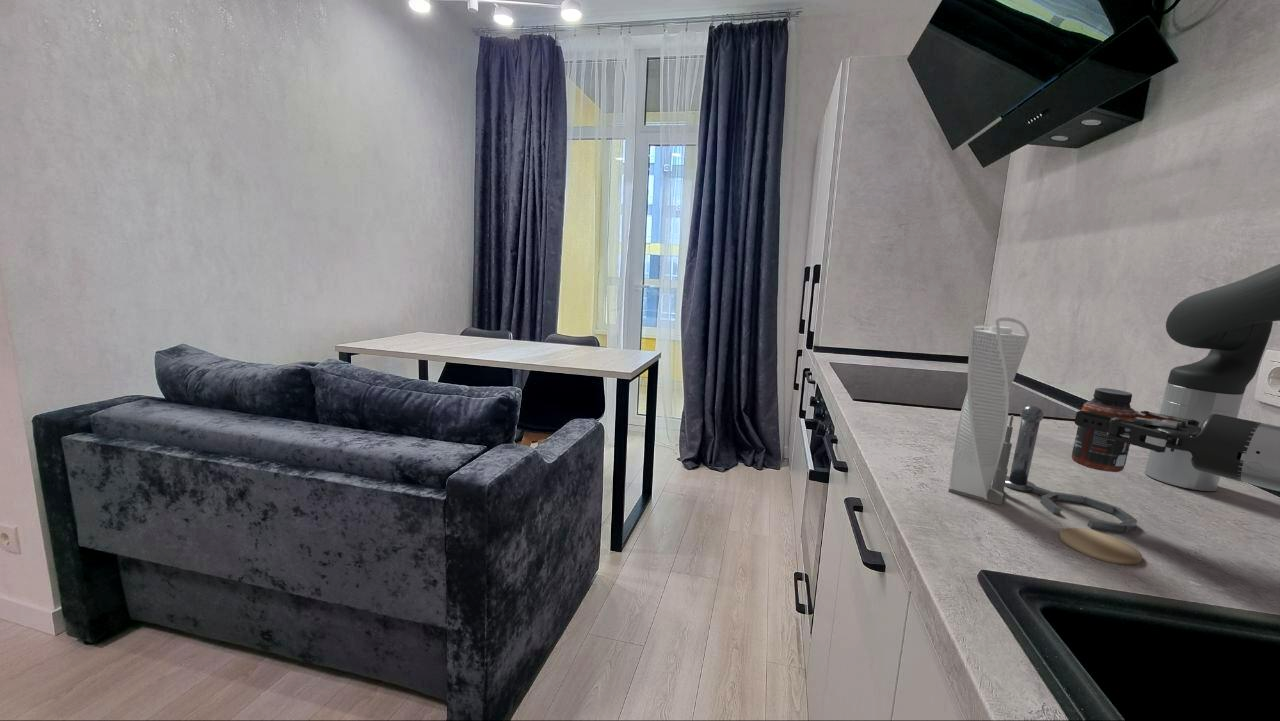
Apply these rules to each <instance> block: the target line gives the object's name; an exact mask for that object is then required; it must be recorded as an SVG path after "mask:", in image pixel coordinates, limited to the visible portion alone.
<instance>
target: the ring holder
mask: <svg viewBox="0 0 1280 721" xmlns="http://www.w3.org/2000/svg"><path fill="white" fill-rule="evenodd" d="M1020 418H1021V421H1020V426H1019V428H1018V429H1019V431H1018V434H1017V440H1016V445H1015V450H1014V454H1013V460H1012V463H1011V464H1012V465H1011V469H1010V473H1009V474H1010V475H1007V476H1006V481H1005V486H1004V488H1005V487H1006V488H1008V489H1011V490H1014V491H1018V492H1023V493H1033V494H1037V495H1039V496H1041V498H1040V502H1039V503H1040V504H1041V505H1042V506H1043V507H1044V508H1045V509H1047V510H1048V511H1049V512H1051V514H1052V515H1058V516H1060V515H1061V511H1062V508H1061V507H1060V506H1058V505H1057V504H1056V503H1055V502H1056V501H1061V502H1062V501H1063V502H1067V503H1075V504H1082V505H1085V506H1089V507H1091V508H1094V509H1097V510H1100V511H1103V512H1106V513H1109V514H1112V515H1114V516H1115V517H1116V518H1117V519H1119V520H1120V521H1122V522H1120V523H1119V522H1114V521H1108V520H1101V519H1100V520H1099V519H1093V518H1089V519H1088V522H1087V526H1088V527H1089V528H1090V529H1095V530H1103V531H1109V532H1115V533H1122V534H1123V533H1124V534H1125V533H1128V532H1129V531H1131V530H1133V529H1135V528H1136V527H1137V522H1138V520H1137V518H1135V517H1133V516H1132V515H1131V514H1129V513H1127V512H1126V511H1125V510H1123V509H1122V508H1120V507H1117V506H1116V505H1112V504H1109V503H1106V502H1104V501H1101V500H1098V499H1096V498H1095V499H1094V498H1091V497H1088V496H1084V495H1079V494H1073V493H1064V492H1057V491H1052V490H1048V489H1045V488H1043V487H1039V486H1037V485H1036V484H1035V483H1033V482H1031V481H1028V479H1029V475H1030V469H1031V465H1032V460H1033V456H1034V451H1035V446H1036V442H1037V438H1038V432H1039V428H1040V423H1041V421H1042V420H1044V412H1043V410H1042V409H1041V408H1040V407H1039V406H1037V405H1032V404H1030V405H1026V406H1024V407H1023V408H1022V409H1021V411H1020Z"/></svg>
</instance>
